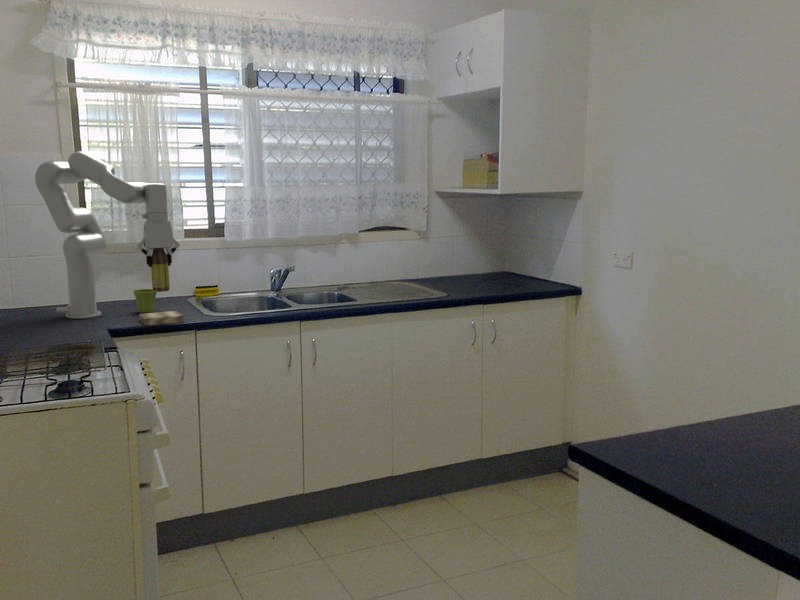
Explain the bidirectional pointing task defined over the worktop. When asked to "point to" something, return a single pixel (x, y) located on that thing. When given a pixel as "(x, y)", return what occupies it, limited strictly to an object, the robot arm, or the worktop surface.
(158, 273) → the sauce bottle
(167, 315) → the board
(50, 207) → the robot arm
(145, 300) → the plant pot
